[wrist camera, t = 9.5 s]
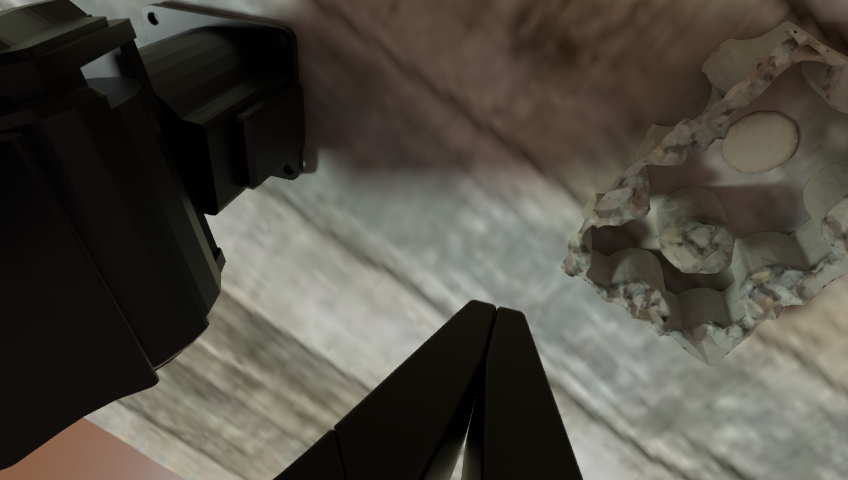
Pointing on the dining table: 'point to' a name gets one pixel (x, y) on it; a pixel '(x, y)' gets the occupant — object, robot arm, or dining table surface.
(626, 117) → the dining table surface
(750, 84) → the egg carton
